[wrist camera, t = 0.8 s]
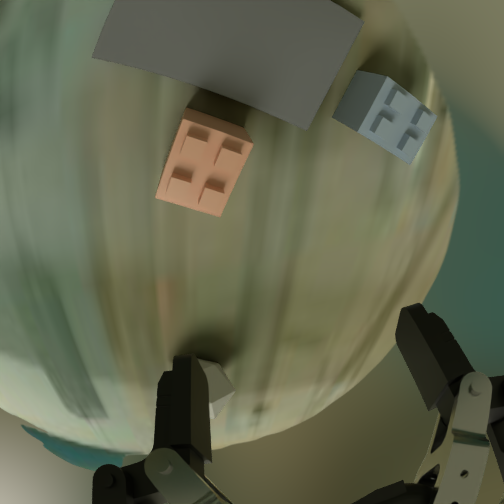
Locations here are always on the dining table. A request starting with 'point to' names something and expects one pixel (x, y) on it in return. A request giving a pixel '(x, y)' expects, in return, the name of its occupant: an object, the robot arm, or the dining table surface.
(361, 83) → the brick slate
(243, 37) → the baseplate
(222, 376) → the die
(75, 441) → the dining table surface
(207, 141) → the brick terracotta
